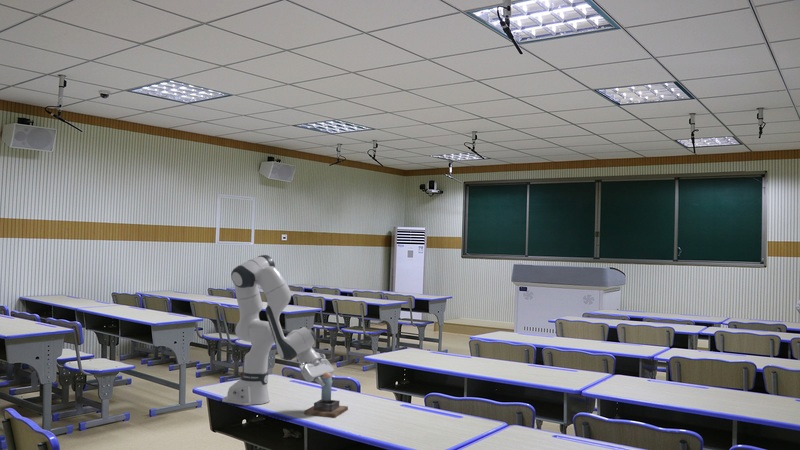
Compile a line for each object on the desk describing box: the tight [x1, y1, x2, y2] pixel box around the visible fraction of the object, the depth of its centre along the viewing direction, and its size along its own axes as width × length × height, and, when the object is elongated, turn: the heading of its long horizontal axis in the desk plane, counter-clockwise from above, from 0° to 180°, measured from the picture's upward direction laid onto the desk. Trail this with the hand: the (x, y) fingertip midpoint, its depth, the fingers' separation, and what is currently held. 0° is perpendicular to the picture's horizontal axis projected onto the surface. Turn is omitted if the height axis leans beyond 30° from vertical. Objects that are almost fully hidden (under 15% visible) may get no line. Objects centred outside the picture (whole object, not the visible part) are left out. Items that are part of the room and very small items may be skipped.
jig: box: [304, 399, 349, 419], centre depth 282 cm, size 15×15×4 cm
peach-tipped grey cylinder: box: [320, 372, 333, 401], centre depth 282 cm, size 4×4×12 cm
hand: (327, 384), depth 282 cm, fingers closed on peach-tipped grey cylinder, 4 cm apart
